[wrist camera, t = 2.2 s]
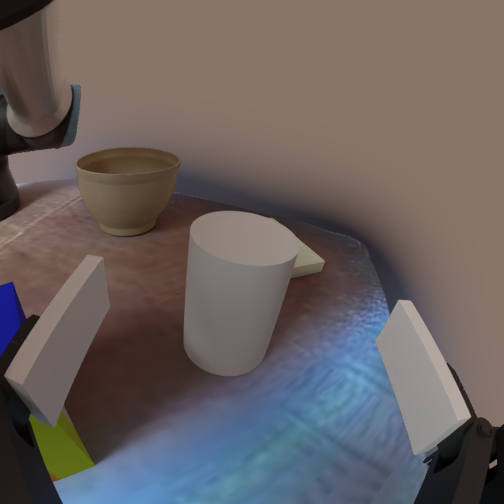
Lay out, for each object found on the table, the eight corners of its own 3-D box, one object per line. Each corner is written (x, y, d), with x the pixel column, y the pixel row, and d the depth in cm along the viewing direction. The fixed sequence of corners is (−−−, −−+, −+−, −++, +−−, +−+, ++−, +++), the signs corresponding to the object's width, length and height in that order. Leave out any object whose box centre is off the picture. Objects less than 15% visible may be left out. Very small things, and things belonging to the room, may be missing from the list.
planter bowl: (147, 197, 54) (150, 143, 48) (194, 233, 45) (202, 165, 40) (69, 215, 43) (66, 153, 37) (97, 261, 34) (91, 181, 29)
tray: (195, 234, 45) (196, 223, 44) (270, 226, 52) (272, 217, 51) (236, 290, 35) (239, 278, 34) (321, 271, 42) (324, 261, 41)
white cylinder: (246, 309, 32) (269, 210, 26) (279, 365, 26) (320, 260, 20) (175, 319, 29) (180, 211, 23) (196, 384, 23) (208, 271, 17)
